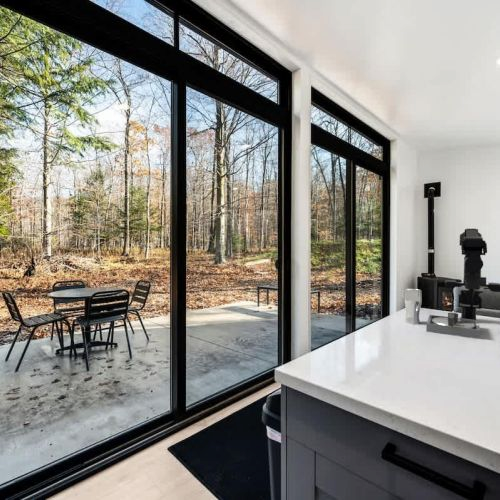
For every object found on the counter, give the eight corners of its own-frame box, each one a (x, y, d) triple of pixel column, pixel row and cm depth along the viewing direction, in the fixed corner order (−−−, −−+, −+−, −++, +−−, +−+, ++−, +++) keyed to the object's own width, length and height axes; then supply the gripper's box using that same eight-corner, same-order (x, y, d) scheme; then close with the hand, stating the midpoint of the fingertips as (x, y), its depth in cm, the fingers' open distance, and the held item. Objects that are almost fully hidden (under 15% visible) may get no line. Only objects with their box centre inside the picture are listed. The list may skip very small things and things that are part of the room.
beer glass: (405, 323, 142) (406, 290, 142) (402, 320, 149) (403, 288, 149) (422, 325, 140) (423, 291, 140) (419, 321, 147) (419, 288, 147)
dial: (434, 319, 144) (435, 308, 143) (475, 324, 134) (475, 312, 134) (428, 327, 130) (429, 315, 130) (473, 334, 121) (473, 321, 121)
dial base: (429, 321, 146) (429, 314, 145) (477, 327, 136) (478, 319, 136) (426, 331, 131) (426, 323, 130) (480, 338, 121) (480, 329, 121)
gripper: (444, 269, 127) (443, 308, 128) (504, 272, 116) (502, 314, 117) (445, 266, 136) (444, 302, 137) (500, 269, 126) (499, 308, 127)
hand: (471, 306), depth 129 cm, fingers closed
